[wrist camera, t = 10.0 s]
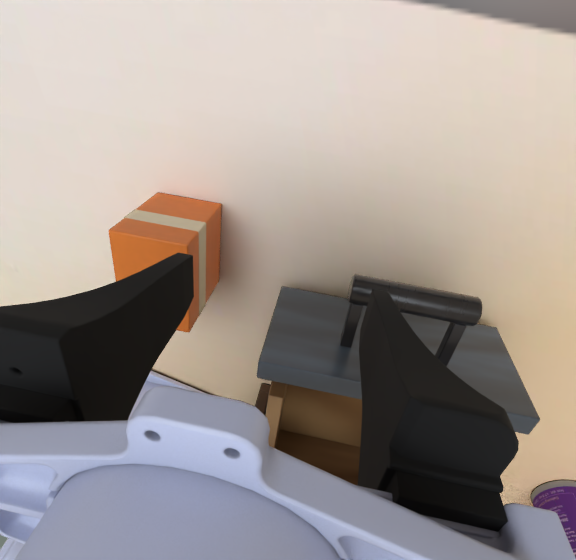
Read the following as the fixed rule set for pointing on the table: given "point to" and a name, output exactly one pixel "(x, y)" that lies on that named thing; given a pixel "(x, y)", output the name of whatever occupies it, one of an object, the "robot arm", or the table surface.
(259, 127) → the table surface
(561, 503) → the container
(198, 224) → the snack box
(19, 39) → the table surface
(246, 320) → the table surface
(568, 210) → the table surface
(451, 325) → the drawer
